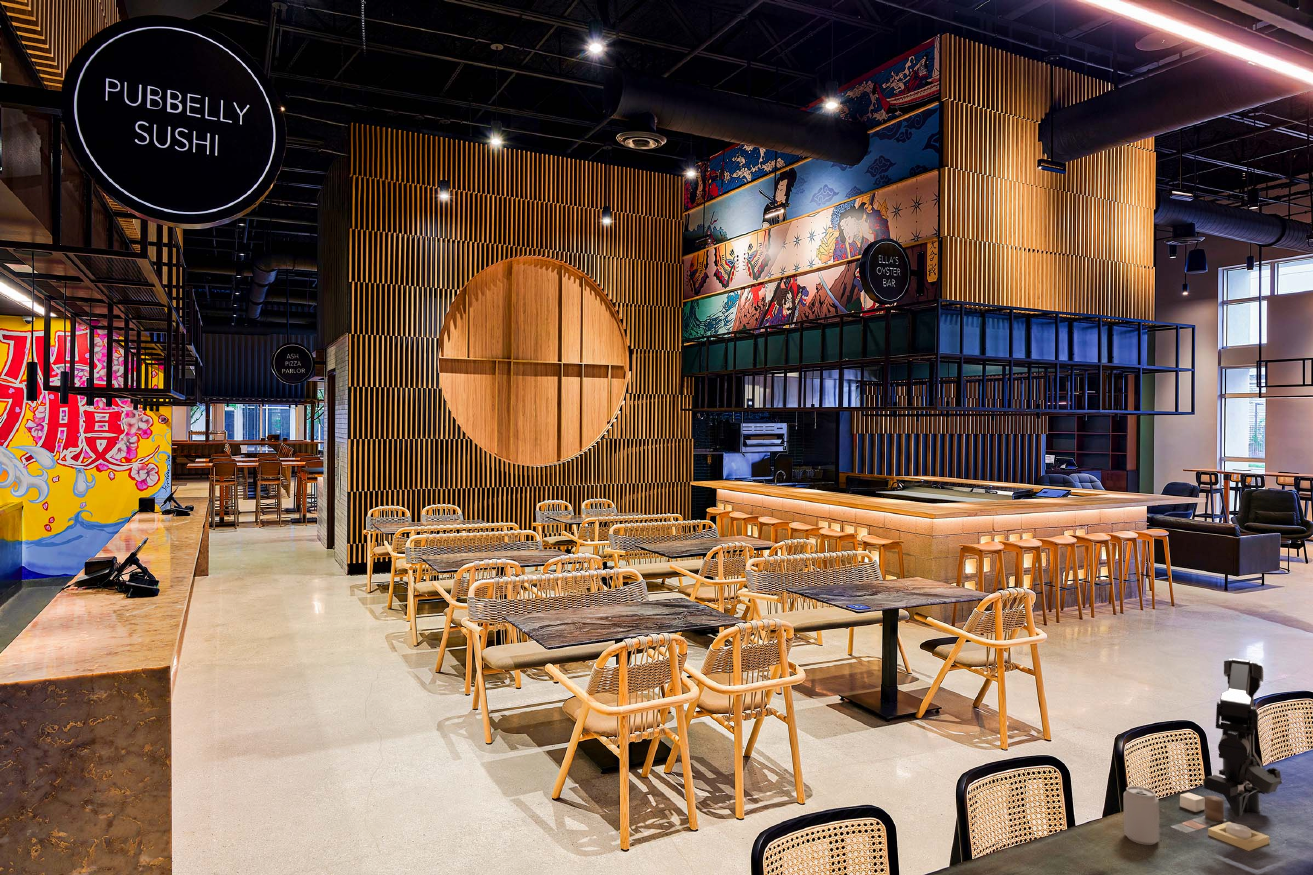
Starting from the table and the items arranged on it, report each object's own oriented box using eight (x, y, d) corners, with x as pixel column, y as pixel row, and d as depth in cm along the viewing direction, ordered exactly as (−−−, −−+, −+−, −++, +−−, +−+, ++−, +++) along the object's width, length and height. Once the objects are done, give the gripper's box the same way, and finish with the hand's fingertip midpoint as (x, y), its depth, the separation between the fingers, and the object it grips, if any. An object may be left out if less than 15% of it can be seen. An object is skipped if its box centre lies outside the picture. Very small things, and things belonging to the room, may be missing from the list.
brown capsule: (1210, 813, 211) (1210, 794, 211) (1227, 819, 207) (1226, 800, 207) (1201, 816, 209) (1201, 797, 209) (1218, 822, 205) (1217, 802, 206)
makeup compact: (1205, 814, 212) (1205, 811, 212) (1234, 825, 206) (1233, 821, 206) (1163, 827, 204) (1163, 824, 204) (1192, 839, 198) (1192, 835, 198)
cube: (1189, 807, 217) (1188, 792, 217) (1204, 812, 214) (1204, 797, 214) (1180, 809, 216) (1179, 794, 216) (1195, 815, 212) (1195, 800, 212)
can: (1124, 841, 196) (1124, 792, 197) (1123, 829, 203) (1122, 781, 203) (1160, 848, 193) (1159, 798, 193) (1158, 836, 199) (1157, 787, 200)
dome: (1233, 833, 200) (1233, 821, 200) (1255, 842, 195) (1255, 829, 195) (1221, 837, 197) (1221, 825, 198) (1244, 846, 193) (1243, 833, 193)
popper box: (1229, 831, 202) (1229, 821, 202) (1269, 846, 194) (1269, 836, 194) (1208, 838, 198) (1208, 828, 198) (1248, 854, 190) (1248, 843, 190)
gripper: (1251, 768, 186) (1253, 836, 185) (1295, 756, 194) (1296, 821, 193) (1201, 752, 196) (1202, 817, 195) (1244, 742, 204) (1245, 804, 203)
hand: (1237, 815), depth 196 cm, fingers closed
